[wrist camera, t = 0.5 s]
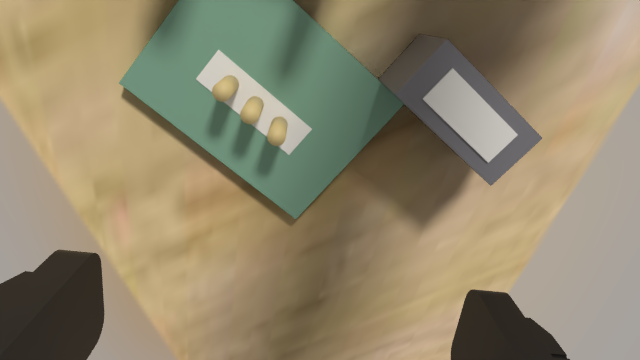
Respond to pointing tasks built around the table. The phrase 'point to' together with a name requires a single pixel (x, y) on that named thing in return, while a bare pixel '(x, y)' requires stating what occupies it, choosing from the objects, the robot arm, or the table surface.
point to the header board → (262, 93)
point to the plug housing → (460, 106)
